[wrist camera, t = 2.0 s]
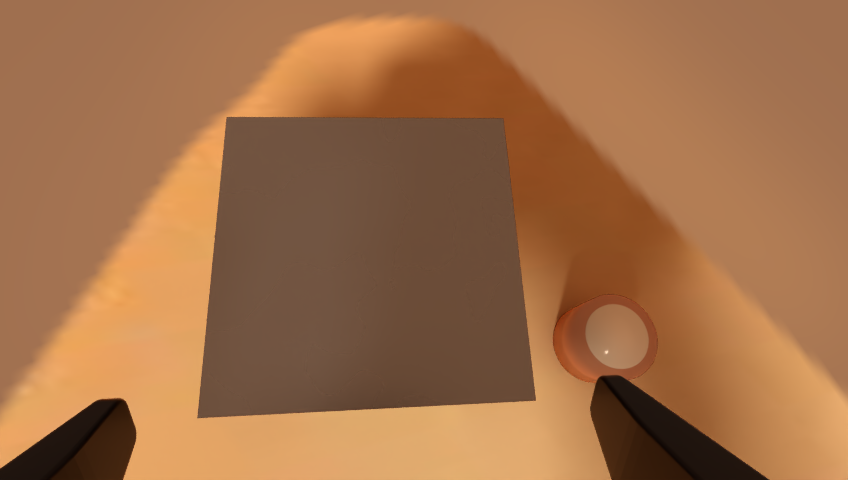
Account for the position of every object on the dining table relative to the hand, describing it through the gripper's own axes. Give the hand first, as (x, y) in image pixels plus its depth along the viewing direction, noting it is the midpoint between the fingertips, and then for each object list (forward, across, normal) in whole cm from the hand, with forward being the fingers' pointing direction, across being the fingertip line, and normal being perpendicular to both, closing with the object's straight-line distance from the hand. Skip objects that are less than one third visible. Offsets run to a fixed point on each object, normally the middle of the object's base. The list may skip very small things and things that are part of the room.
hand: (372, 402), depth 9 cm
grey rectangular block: (+9, 0, +5) cm, 10 cm away
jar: (+8, -9, +6) cm, 14 cm away
